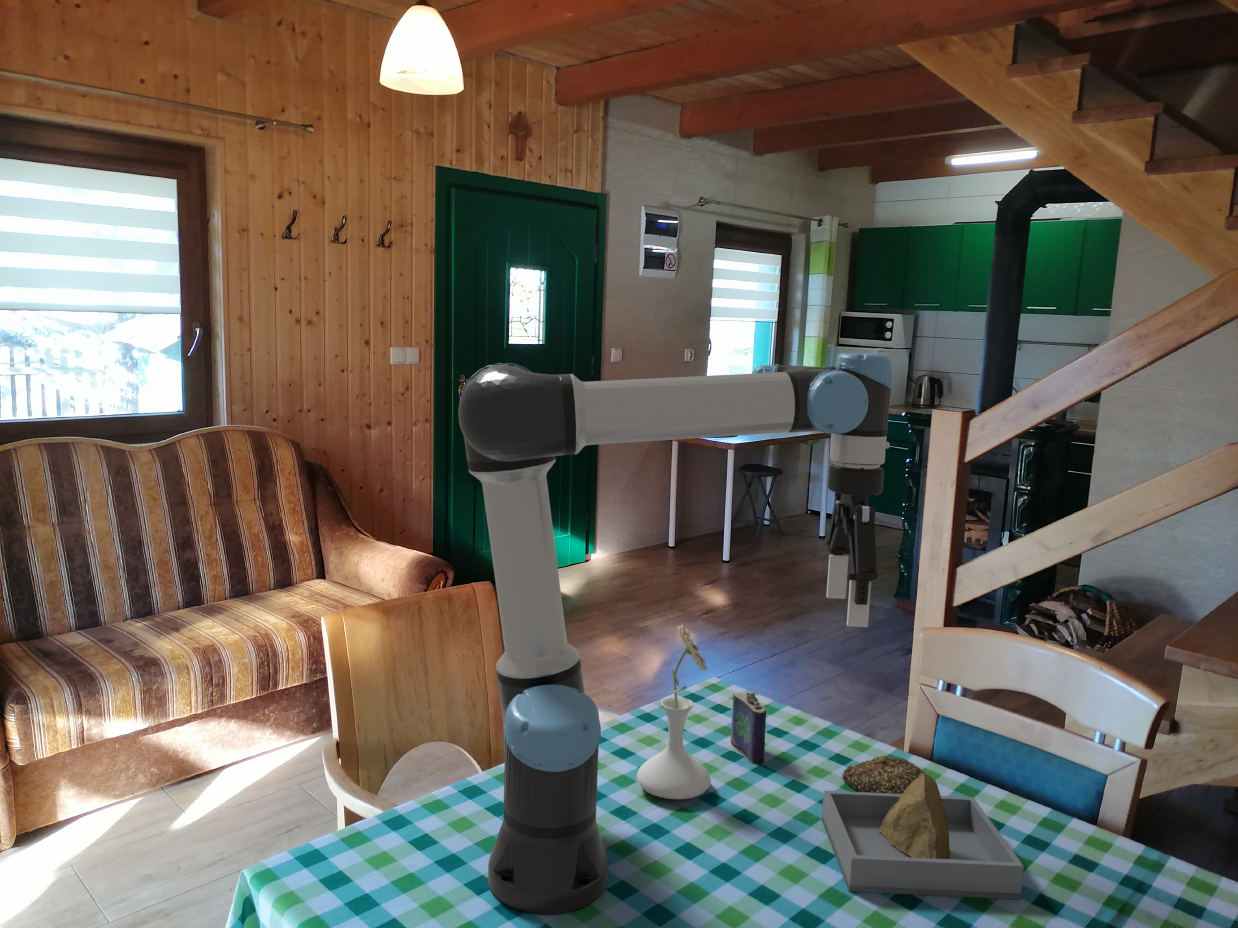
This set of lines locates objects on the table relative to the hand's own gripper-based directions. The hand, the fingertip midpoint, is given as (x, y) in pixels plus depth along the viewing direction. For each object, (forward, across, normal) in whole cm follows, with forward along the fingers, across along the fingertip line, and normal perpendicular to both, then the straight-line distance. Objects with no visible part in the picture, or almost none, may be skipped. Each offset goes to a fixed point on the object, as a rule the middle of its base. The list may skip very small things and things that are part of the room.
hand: (845, 611), depth 133 cm
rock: (+30, -11, -9) cm, 33 cm away
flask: (+31, +19, +10) cm, 38 cm away
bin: (+31, -11, -9) cm, 34 cm away
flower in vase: (+31, +6, +23) cm, 39 cm away
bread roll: (+31, +10, -11) cm, 35 cm away
